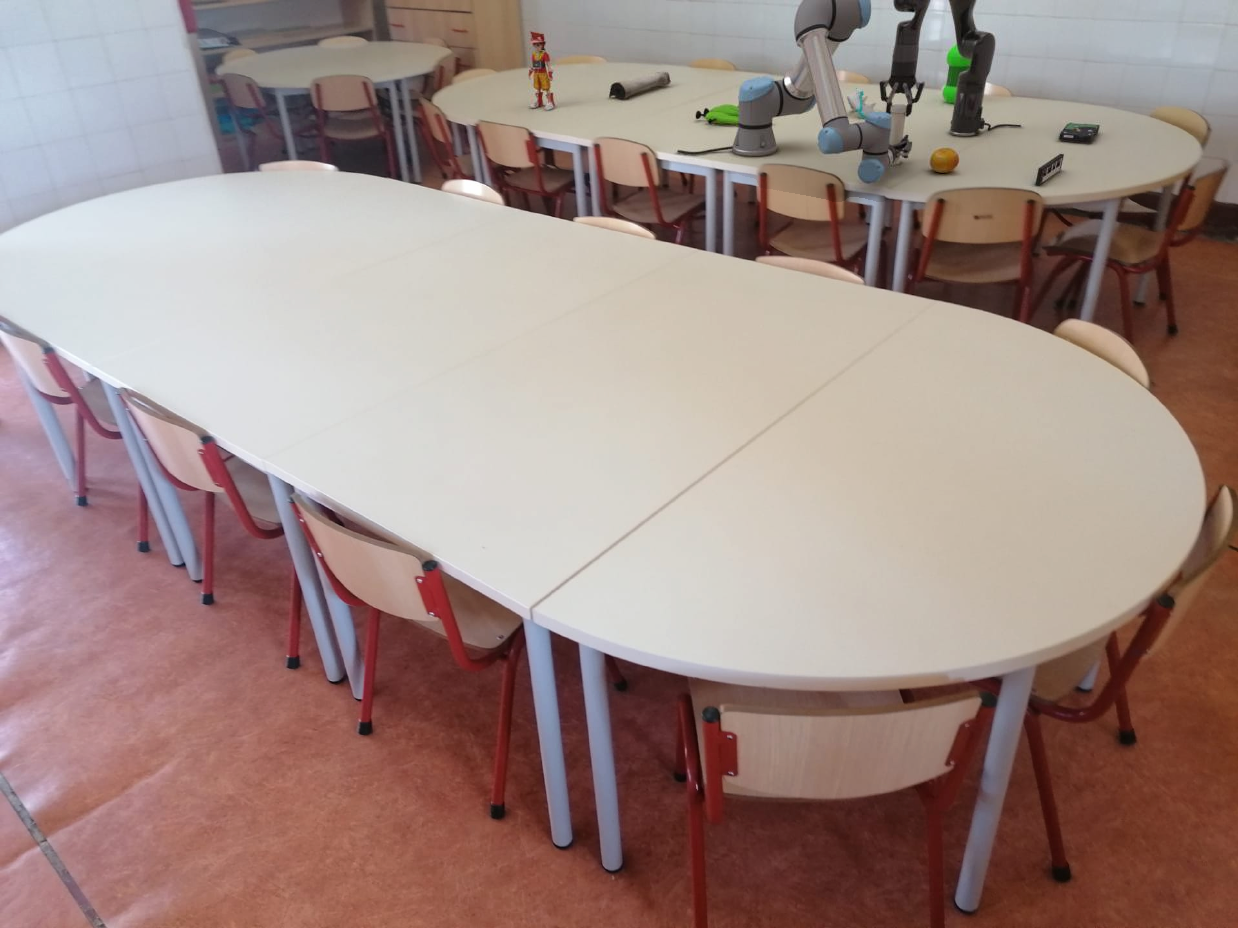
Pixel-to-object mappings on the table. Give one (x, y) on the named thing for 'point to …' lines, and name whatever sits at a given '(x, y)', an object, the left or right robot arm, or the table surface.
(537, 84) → the toy
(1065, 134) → the disk drive
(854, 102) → the anatomical model
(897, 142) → the beige plastic cylinder
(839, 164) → the table surface
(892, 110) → the lid
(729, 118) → the toy
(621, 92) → the rolled mat
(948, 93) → the plastic bottle
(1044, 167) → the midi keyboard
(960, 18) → the right robot arm
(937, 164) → the fruit
